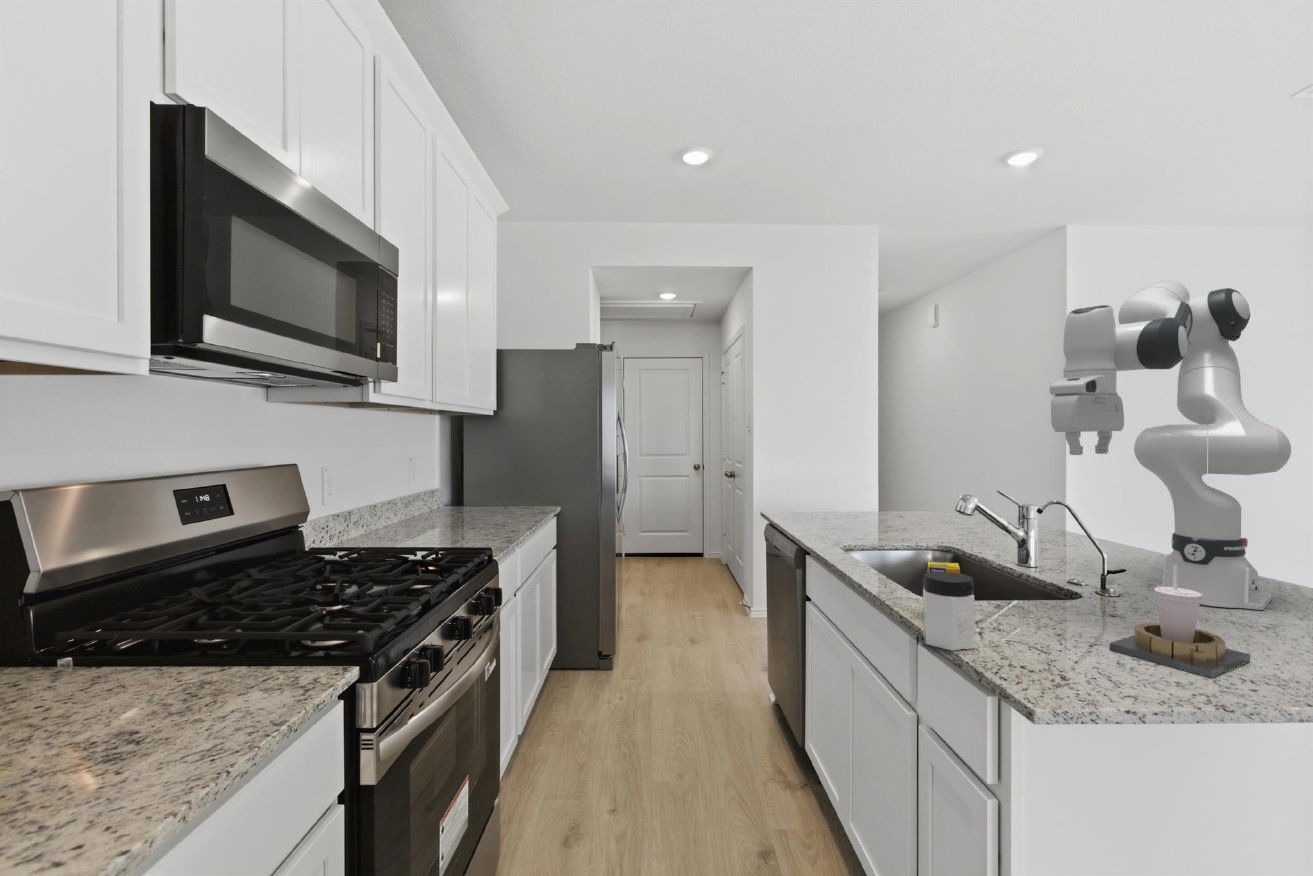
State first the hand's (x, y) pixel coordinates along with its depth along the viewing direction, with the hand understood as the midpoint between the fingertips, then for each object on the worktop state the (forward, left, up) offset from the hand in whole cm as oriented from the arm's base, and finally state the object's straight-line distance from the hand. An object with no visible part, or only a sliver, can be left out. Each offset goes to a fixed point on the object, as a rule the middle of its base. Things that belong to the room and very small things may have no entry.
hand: (1089, 454), depth 125 cm
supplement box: (+26, -14, -33) cm, 45 cm away
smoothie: (+10, +19, -32) cm, 39 cm away
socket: (+10, +19, -33) cm, 39 cm away
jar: (+38, -4, -33) cm, 51 cm away
